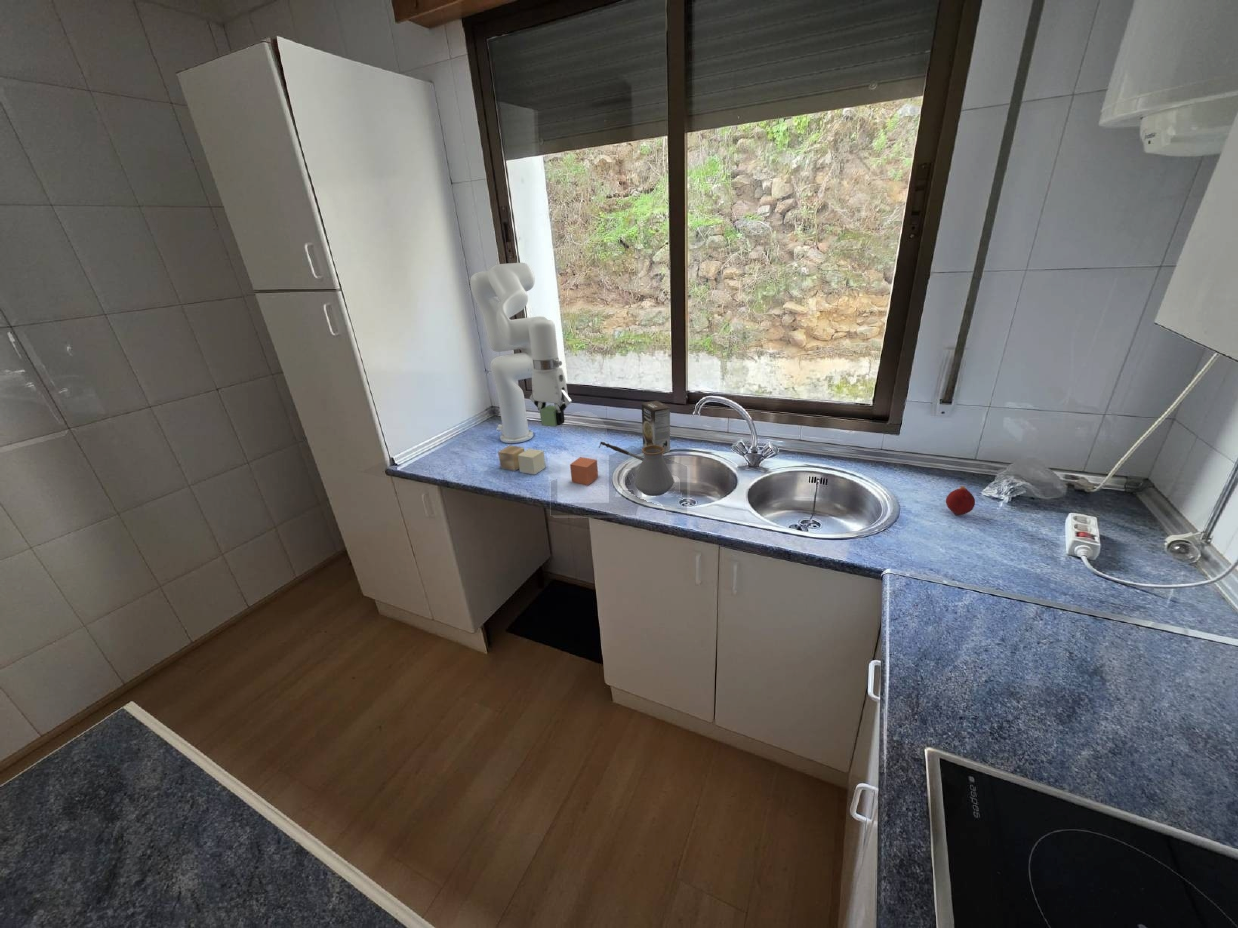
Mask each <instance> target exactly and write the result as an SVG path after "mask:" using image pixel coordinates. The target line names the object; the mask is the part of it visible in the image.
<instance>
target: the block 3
mask: <svg viewBox="0 0 1238 928" xmlns="http://www.w3.org/2000/svg"><path fill="white" fill-rule="evenodd" d="M569 468H570V477H571V483H574V484H578V485H579V484H580V485H585V486H589V485H591V484H592V483H593V482H595V481H596V480H597V479H598V478H599V468H598V460H597V459H595V458H588V457H583V456H580V457H578V458H577V459H576V460H574V461H573V462H571V463H570V464H569Z"/></svg>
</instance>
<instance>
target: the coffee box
mask: <svg viewBox="0 0 1238 928" xmlns="http://www.w3.org/2000/svg"><path fill="white" fill-rule="evenodd" d="M640 405H641V428H642V446H643V447H642V448H644V447H646V446H650V445H658V446H661V447H663V448H664V449H665V451H664V452H663V454H665V453H669V452H671V407H670V406H668V405H667V404H664V403H663V402H660V401H659V400H654V401H647V402H646V401H645V402H642V403H641V404H640Z"/></svg>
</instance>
